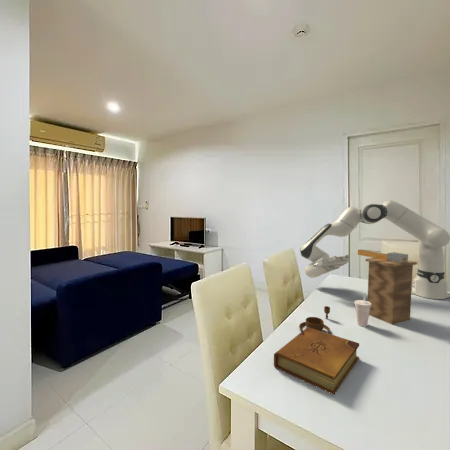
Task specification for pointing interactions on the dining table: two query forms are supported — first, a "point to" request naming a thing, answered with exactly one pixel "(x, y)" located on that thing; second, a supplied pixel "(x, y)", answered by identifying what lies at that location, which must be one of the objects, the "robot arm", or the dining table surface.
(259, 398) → the dining table surface
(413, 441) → the dining table surface
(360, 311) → the smoothie
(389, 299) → the stand
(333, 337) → the diary
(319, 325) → the place setting
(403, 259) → the mallet
